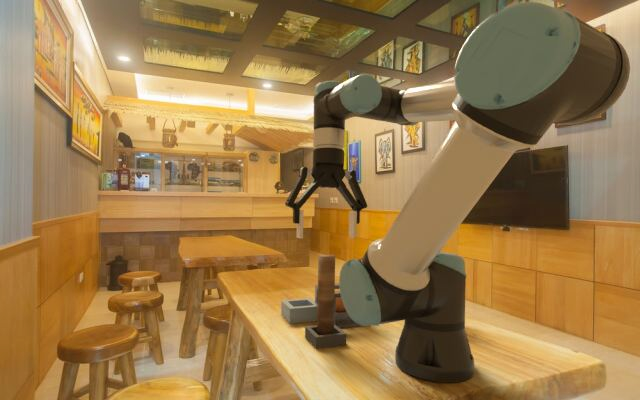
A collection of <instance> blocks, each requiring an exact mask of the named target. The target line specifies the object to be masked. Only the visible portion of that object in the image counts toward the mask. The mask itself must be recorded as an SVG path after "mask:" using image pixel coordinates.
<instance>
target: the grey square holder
mask: <svg viewBox="0 0 640 400" xmlns="http://www.w3.org/2000/svg"><path fill="white" fill-rule="evenodd" d="M280 309H281V310H280V314H281V316H283V318H284V319H285V321H286V322H288V324H300V323H308V322H317V303H315V300H313V299H312V298H311V297H309V298H296V299H282V300H281V306H280Z"/></svg>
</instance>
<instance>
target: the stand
mask: <svg viewBox="0 0 640 400" xmlns="http://www.w3.org/2000/svg"><path fill="white" fill-rule="evenodd" d="M304 329H305V331H304V338H305V339H306V340H307V341H308V342H309V343H310V344H311V346H313V347H314V349H325V348H334V347H341V346H346V345H347V334H348V333H346V332H345V331H343V330H342V328H338V327H337V326H336V325H335V324H334V334H327V335H318V334H317V325H310V326H309V325H308V326H305V327H304Z"/></svg>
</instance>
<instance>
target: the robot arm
mask: <svg viewBox="0 0 640 400" xmlns="http://www.w3.org/2000/svg"><path fill="white" fill-rule="evenodd" d="M456 57H457V58H456V61H455V65H454V70H455V71H456V74H455V75H454V77H453V79H454V80H448V81H442V82H436V83H431V84H426V85H420V86H414V87H409V88H404V89H399V88H398V89H397V88H392V87H389V86H385V85H380V83H379V81H378V79H376V78H374V76H372V75H370V74H367V73H362V74H359V75H356V76H354V77H350V78H349V79H346V80H345V81H344V82H340V81H337V80H336V81H335V80H326V81H321V82H318V83H317V84H316V85H315V87H314V95H313V96H314V97H313V138H312V139H313V143H312V146H313V148H314V149H313V150H312V167H311V168H308V167H306V166H303V167H300V168H299V172H298V177H297V179H296V182H295V183H294V185H293V187H292V189H291V191H290V193H289V194H288V197H287V199H286V201H285V203H284V204H285V206H286V207H289V208H291V209H292V222H293V224H296V235H295V237H296V238H297V239H304V216H305V215H304V212H305V211H304V209H301V208H302V207H303V206H304V205H305V203H306V202H307V201H308V200H309V198H310V197H312V196H313V194H314V192H316V191H317V190H318V188H322V189H323V188H324V189H325V188H329V189H334V188H335V189H336V190H337V191H338V192H339V193H340V194H341V196H342V197H343V199H344V200H345V202H346V203H347V204H348V206H350V208H351V210H349V212H348V238H353V239H357V231H358V229H357V225H359V224H360V218H361V211H362V210H364V209H367V208H368V203H367V201H366V199H365V196H364V194H363V191H362V189H361V187H360V185H359V182H358V178H357V172H356V170H355V169H352V170H346V171H345V167H344V166H345V150H344V148H345V147H346V146H345V145H346V144H345V132H346V127H345V126H346V120H348V119H350V118H351V119H352V118H361V119H362V118H363V119H367V120H372V121H373V120H374V121H380V122H385V123H386V122H387V123H391V124H397V125H399V126H409V127H413V126H415V125H417V124H419V123H425V122H426V123H429V122H447V121H448V122H449V121H450V122H451V121H452V122H453V121H454V122H453V123H452V125H451V127H450V129H449V131H448V132H447V133H446V135H445V137H444V138H443V140H442V142H441V143H440V146H439V147H438V148H437V150H436V152H435V153H434V155H433V157H432V158H431V160H430V162H429V164H428V165H427V167H426V168H425V170H424V172H423V174H422V175H421V176H420V178H419V180H418V182H417V183H416V184H415V187H414V188H413V189H412V192H411V193H410V195H409V196H408V198H407V200H406V202H405V203H404V205H403V206H402V208H401V210H400V212H399V213H398V215H397V217H396V218H395V220H394V222H393V223H392V224H391V226H390V228H389V230H388V232H387V233H386V234H385V236H384V237H382V238H377V239H375V240H374V241H372V242H371V243H370V244H369V246H368V247H367V249H366V251H365V253H364V254H363V256H362V257H361V258H359V259H357V258H352V259H349V260H346V261H345V262H344V263H343V265H342V266H341V269H340V270H339V279H338V280H339V281H338V284H339V287H340V289H339V291H340V294H341V299H342V302H343V305H344V307H345V310H346V311H347V313H348V315H349V316H350V318H351V319H352V320H353V321H354V322H356V323H357V324H359V325H362V326H363V327H366V326H369V327H370V326H374V327H375V326H378V327H379V325H384V324H390V323H394V322H400V321H404V322H403V323H404V324H403V328H402V331H401V333H400V337H399V339H398V343H397V345H396V347H395V353H394V354H395V356H394V359H395V364H396V365H397V367H398V368H399V369H400V370H402V371H403V372H405V373H406V374H408V375H411V376H413V377H415V378H418V379H422V380H426V381H430V382H437V383H460V382H463V381H467V380H470V379H471V378H472V377H473V376H474V374H475V358H474V355H473V354H472V351H471V347H470V343H469V342H470V341H469V340H468V336H467V333H466V324H465V323H466V279H467V273H466V263H465V259H464V258H463V257H462V256H461V255H459V254H454V253H450V252H449V253H448V252H441V251H442V250H443V249H444V247H445V245H446V244H447V243H448V242H449V241H450V239H451V238H452V236H453V235H454V233H455V232H456V231H457V229H458V228H459V227H460V225H461V224H462V223H463V221H465V219H466V217H467V216H468V215H469V214H470V212H471V211H472V210H473V208H474V206H475V205H476V204H477V203H478V202H479V200H480V199H481V197H482V196H483V195H484V193H485V192H486V191H487V190H488V188H489V187H490V185H491V184H492V183H493V181H494V180H495V178H496V177H497V176H498V175H499V173H500V172H501V171H502V169H503V168H504V167H505V165H506V164H507V163H508V161H509V160H510V159H511V157H513V155H514V154H515V152H518V151H520V150H523V149H524V150H525V149H528V148H529V149H530V148H534V147H535V146H536V145H538V143H539V142H540V140H541V139H542V138H543V137H544V135H545V134H546V133H547V131H548V130H549V129H550V127H552V125H553V124H554V125H562V126H563V125H565V126H567V125H568V126H569V125H576V124H577V125H578V124H582V123H584V122H589V121H591V120H593V119H595V118H597V117H599V116H601V115H602V114H604V113H606V112H607V111H608V110H609V109H611V107H612V106H614V105H615V104H616V103H617V101H618V100H619V99H620V98H621V96H622V95H623V93H624V91H625V90H626V87H627V85H628V82H629V79H630V72H631V64H630V63H631V62H630V57H629V55H628V53H627V51H626V49H625V48H624V46H623V45H622V43H620V42H619V41H618V40H617V39H616V38H615V37H613V36H611V35H610V34H608V33H607V32H604V31H602V30H599V29H597V28H596V27H594V26H592V25H591V24H589V23H587V22H585V21H583V20H582V19H580V18H578V17H577V16H575V15H573V14H572V13H570V12H568V11H565V10H564V9H562V8H557V7H554V6H550V5H547V4H544V3H541V2H535V1H523V2H516V3H514V4H511V5H507V6H505V7H504V8H502V9H501V10H500V11H496V12H494V13H492V14H490V15H489V16H488V17H487V18H485V19H483V21H482V22H480V24H478V25H477V26H476V27H475V28H474V29H473V31H472V32H471V33H470V34H469V36H468V37H467V38H466V40H465V41H464V43H463V44H462V47H461V49H460V51H459V52H458V55H457V56H456ZM310 176H311V177H312V178H313V180H312V182H311V183H310V184H309V186H308V187H307V188H306V189H305V191H303V193H302V194H301V195H300V197H298V195H299V194H300V192H301V190H302V188H303V186H304V184H305V182H306V180H307V178H308V177H310ZM344 178H345V179H346V180H347V182H348V185H349V188H350V189H351V192H352V193H351V192H350V190H349V189H348V187H347V185H346V183H345V182H344V180H343V179H344ZM297 198H298V199H297ZM362 326H361V327H362Z"/></svg>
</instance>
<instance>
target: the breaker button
mask: <svg viewBox="0 0 640 400" xmlns="http://www.w3.org/2000/svg"><path fill="white" fill-rule="evenodd" d="M344 311H346V310H345V307H344V305H343V302H342V299H341V297H338V298H336V312H344Z"/></svg>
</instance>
